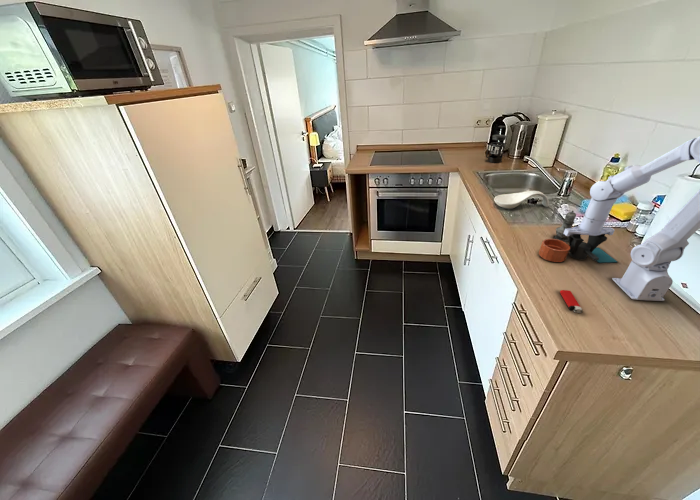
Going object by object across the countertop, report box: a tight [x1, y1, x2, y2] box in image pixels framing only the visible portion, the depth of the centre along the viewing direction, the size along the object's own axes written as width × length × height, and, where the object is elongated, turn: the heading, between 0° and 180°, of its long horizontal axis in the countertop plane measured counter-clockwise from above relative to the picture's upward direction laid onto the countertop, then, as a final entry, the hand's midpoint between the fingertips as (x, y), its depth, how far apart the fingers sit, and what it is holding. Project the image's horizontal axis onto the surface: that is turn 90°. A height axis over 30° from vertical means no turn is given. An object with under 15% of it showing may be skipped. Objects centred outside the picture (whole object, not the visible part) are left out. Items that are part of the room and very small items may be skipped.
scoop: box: [568, 241, 599, 261], centre depth 97 cm, size 10×5×5 cm, turn 178°
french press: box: [485, 125, 508, 164], centre depth 194 cm, size 12×9×23 cm
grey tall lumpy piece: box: [553, 209, 577, 243], centre depth 107 cm, size 6×6×12 cm
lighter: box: [559, 289, 584, 314], centre depth 81 cm, size 3×1×8 cm
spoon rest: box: [493, 190, 550, 210], centre depth 135 cm, size 24×12×7 cm, turn 85°
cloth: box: [592, 247, 618, 264], centre depth 99 cm, size 6×9×1 cm, turn 178°
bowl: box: [538, 238, 570, 263], centre depth 99 cm, size 8×8×5 cm
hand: (579, 252), depth 99 cm, fingers closed on scoop, 5 cm apart
